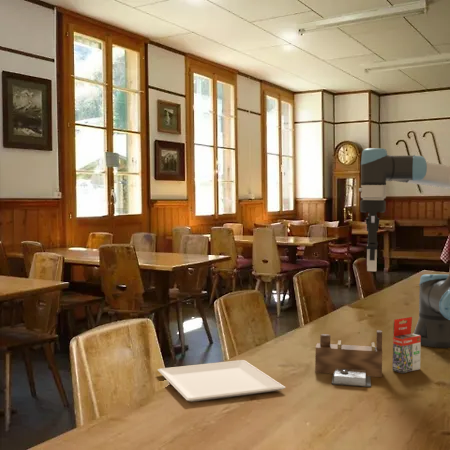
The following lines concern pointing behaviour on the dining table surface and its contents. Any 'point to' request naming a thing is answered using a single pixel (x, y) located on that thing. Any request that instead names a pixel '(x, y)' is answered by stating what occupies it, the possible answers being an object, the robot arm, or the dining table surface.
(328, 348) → the body
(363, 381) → the lever cap
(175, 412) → the dining table surface
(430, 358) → the dining table surface
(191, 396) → the plate
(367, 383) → the rubber mat
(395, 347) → the ink box
